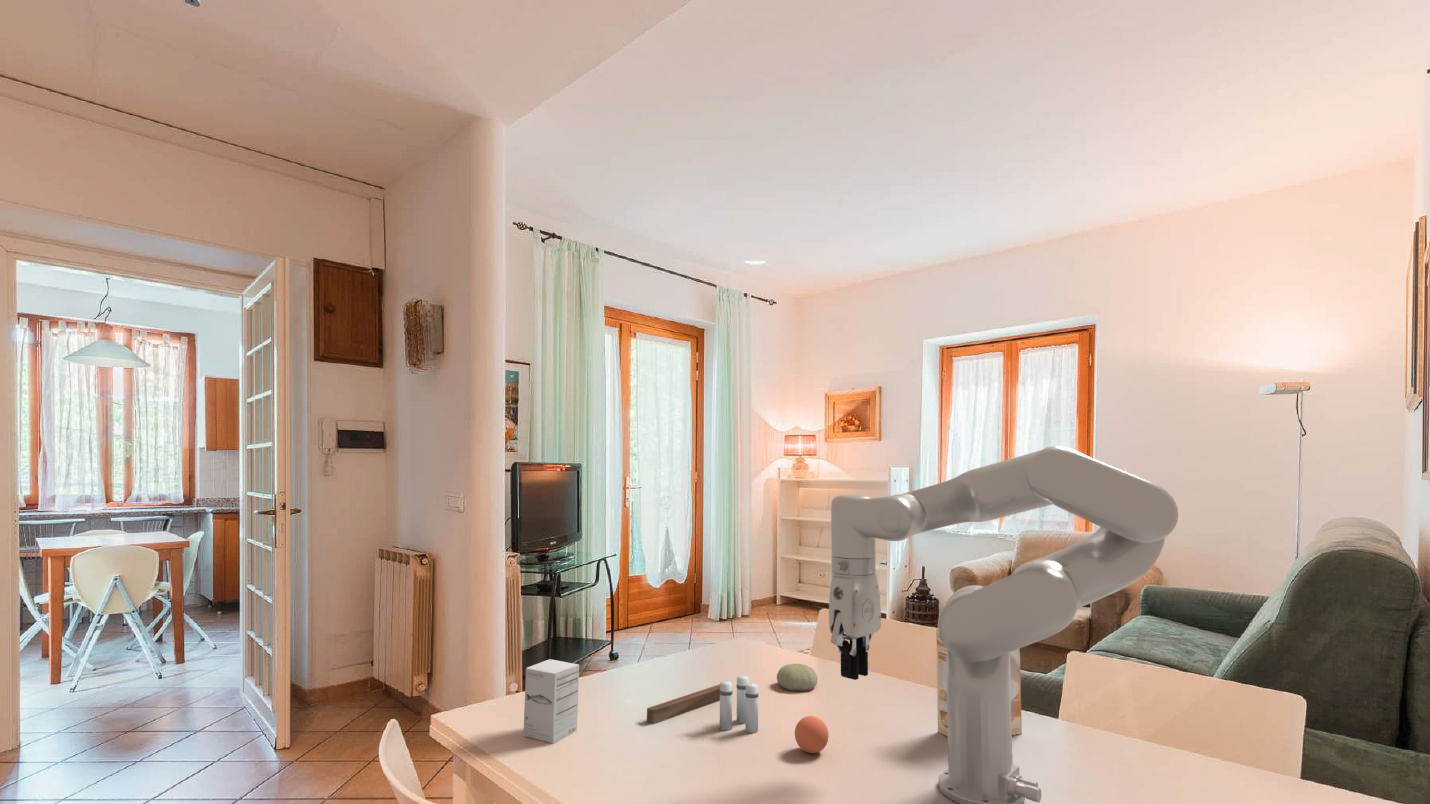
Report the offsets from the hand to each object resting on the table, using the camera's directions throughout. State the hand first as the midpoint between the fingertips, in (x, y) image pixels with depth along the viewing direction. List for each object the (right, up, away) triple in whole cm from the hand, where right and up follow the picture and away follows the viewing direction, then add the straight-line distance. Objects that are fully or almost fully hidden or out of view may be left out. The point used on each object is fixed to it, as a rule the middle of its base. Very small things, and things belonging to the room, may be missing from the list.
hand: (854, 675), depth 118 cm
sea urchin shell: (-5, -19, +41) cm, 46 cm away
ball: (-7, -13, +5) cm, 15 cm away
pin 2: (-18, -17, +19) cm, 31 cm away
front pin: (-17, -16, +14) cm, 28 cm away
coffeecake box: (+27, -17, +14) cm, 35 cm away
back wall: (-29, -17, +26) cm, 43 cm away
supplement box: (-55, -16, +12) cm, 59 cm away
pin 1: (-22, -16, +16) cm, 31 cm away
